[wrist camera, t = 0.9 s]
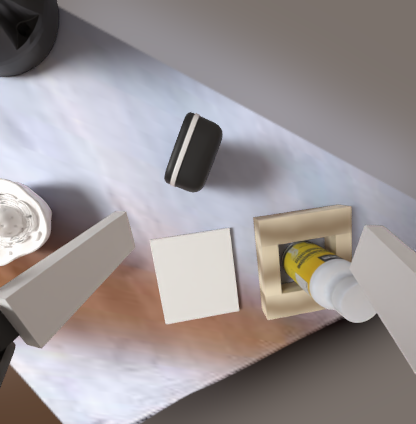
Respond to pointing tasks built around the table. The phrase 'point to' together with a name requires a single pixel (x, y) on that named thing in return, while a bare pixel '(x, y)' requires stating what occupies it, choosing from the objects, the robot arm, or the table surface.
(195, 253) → the pad
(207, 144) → the battery charger
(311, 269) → the pill bottle
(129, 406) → the table surface
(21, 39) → the robot arm
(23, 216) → the cell model
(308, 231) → the holder
